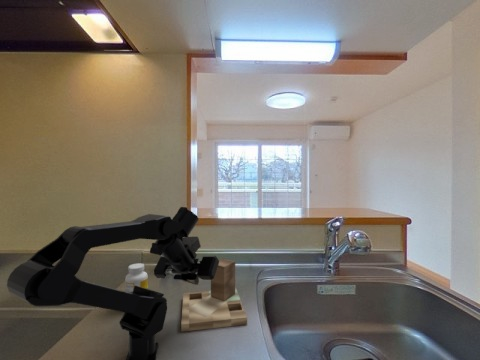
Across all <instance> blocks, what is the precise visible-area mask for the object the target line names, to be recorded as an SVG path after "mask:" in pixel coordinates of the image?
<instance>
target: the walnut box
mask: <svg viewBox="0 0 480 360" xmlns="http://www.w3.org/2000/svg"><path fill="white" fill-rule="evenodd" d="M218 260H219V264H218V267H217V270H216V274H215V277H214V278H213V279H212V280H210V291H211V297H213V298H215V299H218V300H221V301H226V300H227V299H229V298H230V297H232V296H233V295H235V289H236V261H235V260H230V259H225V258H223V257H222V258H220V259H218Z"/></svg>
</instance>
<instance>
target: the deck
mask: <svg viewBox="0 0 480 360" xmlns="http://www.w3.org/2000/svg"><path fill="white" fill-rule="evenodd" d="M182 297H183V298H182V311H181V321H180V322H181V323H180V324H181V325H180V326H181V328H180V329H181V333H183V332H189V331H199V330H200V331H201V330H209V329H218V328H226V327H235V326H243V325H248V316H247V312H246V311H245V307H244V306H243V303H242V301H241V297H240V295H239V293H238V289H237V288H235V295H233V296H232V297H230V298H229V299H227V300H226V301H221V300H218V299H215V298H213V297H211V290H206V291H194V292H193V291H192V292H184V293H183V296H182Z"/></svg>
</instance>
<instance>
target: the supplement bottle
mask: <svg viewBox="0 0 480 360" xmlns="http://www.w3.org/2000/svg"><path fill="white" fill-rule="evenodd" d="M127 268H128V270H127V271H128V273H127V274H126V276H125V278H124V279H125V280H124V284H125V285H124V287H125V289H124V290H125V292H132V291H133V290H134V286H139V287H142V288H146V289H149V281H148V279H149V277H148V273H147V272H146V271H145V264H144V263H138V262H137V263H133V264H130V265H129V266H128V267H127Z"/></svg>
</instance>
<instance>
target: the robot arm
mask: <svg viewBox="0 0 480 360" xmlns="http://www.w3.org/2000/svg"><path fill="white" fill-rule="evenodd" d="M198 222H199V217H198V215H197V214H195V213H194V212H193V211H192V210H189V209H188V207H185V206H180V207H179V209H178V210H177V212H176V213H175V214H174V216H173V217H171V216H169V215H163V214H162V215H161V214H152V213H148V214H145V215H141V216H138V217H136V218H135V219H133V220H130V221H120V222H113V223H104V224H95V225H94V224H93V225H87V226H86V225H85V226H77V225H75V226H74V225H73V226H70V227H68V228H67V229H65V230H64V231H63V232H62V233H61V234H60V235H58V236H57V237H56V238H55V239H54V240H52V241H51V242H49V243H48V244H46V245H45V246H43V247H42V248H40V249H39V250H38V251H36V252H35V253H34V254H33V255H32V256H31V257H30V258H29V259H28V260H27V261H26V262H22V263H20V265H18V266H16V267H15V268H14V269H13V270H12V272H11V273H10V274H9V276H8V278H7V281H6V282H7V283H6V288H7V289H8V292H9V293H10V294H11V295H13V296H15V297H17V298H18V299H20V300H22V301H24V302H26V303H28V304H30V305H31V306H34V307H60V306H63V305H68V304H78V305H84V306H89V307H95V308H100V309H105V310H106V309H107V310H110V311H116V312H122V313H124V314H123V315H122V317H121V318H120V319H119V326H120V328H121V330H125V331H126V332H128V352H127V353H128V354H127V355H126V358H125V360H157V356H158V355H157V354H158V350H159V342H156V335H157V334H159V332H161V331H162V330H163V328H164V325H165V320H166V317H167V311H168V303H167V302H168V300H167V298H165V297H164V295H165V294H164V293H161V292H159V291H155V290H152V289H150V288H148V289H146V288H142V287H139V286H134V290H133V291H132V292H125V291H124V290H121V289H116V288H113V287H109V286H105V285H101V284H98V283H93V282H90V281H86V280H83V279H81V278H79V277H78V276H76V274H77V273H78V272H79V271H80V268H81V266H82V264H83V262H84V259H85V257H86V255H87V253H89V251H90V250H91V249H93V248H98V247H104V246H110V245H114V244H120V243H124V242H125V243H126V242H130V241H135V240H154V242H152V243H151V247H150V249H149V254H152V255H156V256H160V257H159V259H158V261H157V263H156V264H155V267H154V268H153V275H154V277H156V279H165V278H166V277H167V274H166V271H167V270H170V272H171V275H173V280H176V281H181V282H185V283H189V284H193V285H195V286H198V285H199V282H200V280H199V279H201V280H204V281H211V280H212V279H213V278H214V277H215V274H216V270H217V267H218V264H219V260H220V259H219V258H218V257H217V255H204V256H202V258H201V260H200V259H199V258H197V256H198V254H197V253H196V252H197V251H198V250H199V249H200V248H201V247H202V246H201V241H200V238H199V236H189V235H190V234H191V232H192V231H193V230H194V228H195V226H197V223H198ZM55 263H56V264H55ZM54 264H55V265H54Z"/></svg>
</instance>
